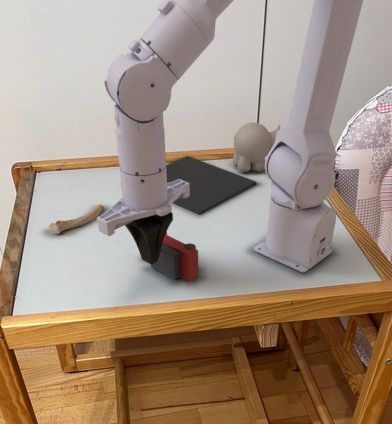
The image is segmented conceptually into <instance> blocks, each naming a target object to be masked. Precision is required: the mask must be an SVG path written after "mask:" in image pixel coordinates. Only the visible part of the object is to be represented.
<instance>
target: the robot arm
mask: <svg viewBox="0 0 392 424" xmlns="http://www.w3.org/2000/svg"><path fill="white" fill-rule="evenodd" d="M234 1H235V0H162V1H161V2H160V3H159V5H158V6H157V10H158V11H159V12H160V13H159V14H158V15H157V17H156V18H155V19H154V20H153V22H152V23H151V24H149V26H148V27H147V29H146V30H145V31H144V32H143V34H142V35H140V38H139V39H138V40H135V39H132V40H131V41H130V42H129V44H128V45H127V47H128V49H129V51H130V52H125V54H122V53H121V54H119V55H118V56H117V57H115V59H114V60H113V61H112V62H111V64H110V65H109V67H108V70H107V76H106V79H105V80H104V87H105V91H106V92H107V95H108V96H109V98H110V99H111V100H112V101H113V102H114V103H115V104H114V105H113V109H114V120H115V138H116V148H117V156H118V165H119V174H120V185H121V195H122V197H121V198H120V199H118V201H117V202H115V204H113V205H112V206H111V207H110V208H109V209H108V210H106V211H105V212H103V214H101V215H98V217H96V220H97V228H98V232H100V233H102V234H103V235H105V236H107V237H111V236H113V235H114V234H115V233H116V230H118V229H120V228H122V227H124V226H125V228H126V229H127V230H128V232H129V233H130V235H131V237H132V239H133V240H134V242H135V245H136V247H137V249H138V251H139V254H140V257H141V260H142V261H143V262H146V263H147V264H150V265H151V264H154V263H155V262H157V261H158V259H159V255H160V251H161V246H162V243H163V239H164V236H165V234H166V232H167V233H168V229H169V227H170V226H171V224H172V222H173V221H174V213H173V210H172V209H173V207H172V204H174V203H173V202H174V201H175V200H177V199H179V198H181V197H182V198H187V197H189V196H190V190H189V183H188V182H185V181H183V180H180V179H178V180H176V181H173V182H169V183H167V174H166V165H167V154H166V133H165V126H164V124H165V123H164V112H165V111H166V110H167V109H168V108H169V105H170V102H171V99H172V89H173V87H174V85H176V83H177V82H178V81H179V80H180V79H181V78H182V77H183V76H184V74H185V73H186V72H187V71H188V70H189V69H190V67H191V66H192V65H193V64H194V63H195V62H196V60H198V59H199V57H200V56H201V55H202V54H203V53H204V51H205V50H207V48H208V46H210V45H211V43H212V42H213V41H214V39H215V35H216V21H217V18H219V17H220V16H221V15H222V14H223V12H224V11H225V10H226V9H227V8H228V7H229V6H230V5H231V4H232V3H233V2H234ZM363 3H364V0H313V5H312V9H311V13H310V17H309V18H310V19H309V23H308V28H307V33H306V37H305V43H304V47H303V51H302V57H301V61H300V67H299V71H298V76H297V80H296V85H295V90H294V94H293V100H292V105H291V109H290V113H289V119H288V122H287V123H286V124H285V125H283V126H282V127H280V130H279V131H278V132H277V135H276V140H275V143H274V145H273V147H272V149H271V150H270V151H269V153H268V154H267V156H266V157H265V169H264V171H265V175H266V176H267V177H268V179H269V180H271V181H270V182H271V183H270V197H269V207H268V217H267V229H266V236H265V237H266V238H265V240H263V241H262V242H260V243H259V244H257V245H255V246H254V247H253V251H254V252H256V253H258V254H261V255H263V256H265V257H267V258H269V259H271V260H273V261H276V262H278V263H280V264H282V265H284V266H287V267H289V268H291V269H293V270H295V271H297V272H300V273H303V274H304V273H306V272H308V271H309V270H310V269H312V268H313V267H315V266H316V265H317V264H318V263H320V262H321V261H322V260H324V259H325V258H326V257H328V256H330V255H331V254H332V253H333V249H332V247H331V246H332V242H333V236H334V231H335V227H336V222H337V213H336V210H335V209H333V208H332V207H330V206H329V205H327V204H326V203H325V202H324V201H326V199H327V198H328V197H329V196H330V194H331V193H332V192H333V189H334V187H335V184H336V173H335V163H336V158H337V151H336V148H335V145H334V142H333V139H332V135H331V133H330V129H331V125H332V122H333V117H334V115H335V110H336V106H337V103H338V98H339V96H340V95H339V94H340V91H341V88H342V83H343V79H344V76H345V72H346V68H347V65H348V61H349V57H350V53H351V50H352V45H353V42H354V38H355V34H356V30H357V26H358V22H359V19H360V15H361V11H362V7H363Z"/></svg>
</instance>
